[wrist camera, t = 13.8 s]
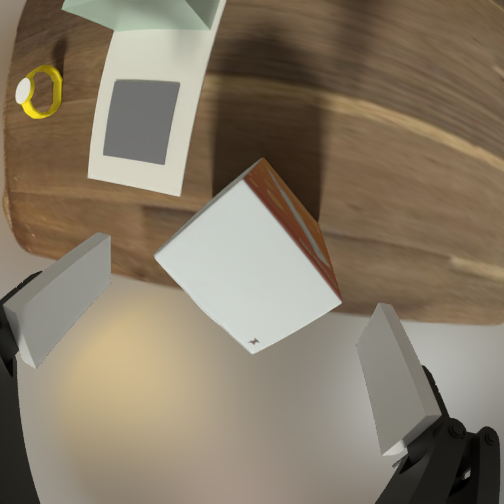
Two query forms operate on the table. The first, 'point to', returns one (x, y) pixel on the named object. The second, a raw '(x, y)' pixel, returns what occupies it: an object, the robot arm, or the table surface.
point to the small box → (254, 260)
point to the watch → (27, 89)
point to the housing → (146, 13)
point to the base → (149, 106)
